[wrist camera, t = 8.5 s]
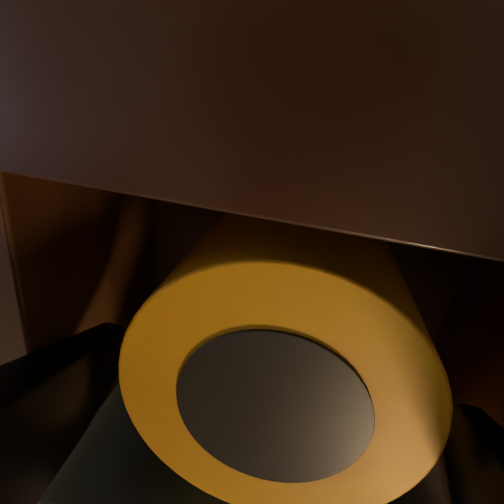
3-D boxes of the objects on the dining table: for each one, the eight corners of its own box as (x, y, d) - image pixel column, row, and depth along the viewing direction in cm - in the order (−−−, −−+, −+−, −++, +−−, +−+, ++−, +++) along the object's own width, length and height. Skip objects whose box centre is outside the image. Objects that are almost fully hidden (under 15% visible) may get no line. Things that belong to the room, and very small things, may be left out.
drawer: (391, 492, 15) (433, 735, 9) (137, 425, 17) (36, 600, 11) (601, 31, 8) (1287, -145, 2) (132, -17, 10) (-164, -201, 4)
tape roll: (261, 389, 13) (227, 542, 9) (160, 251, 12) (54, 346, 7) (433, 328, 11) (513, 491, 6) (335, 145, 9) (345, 187, 5)
